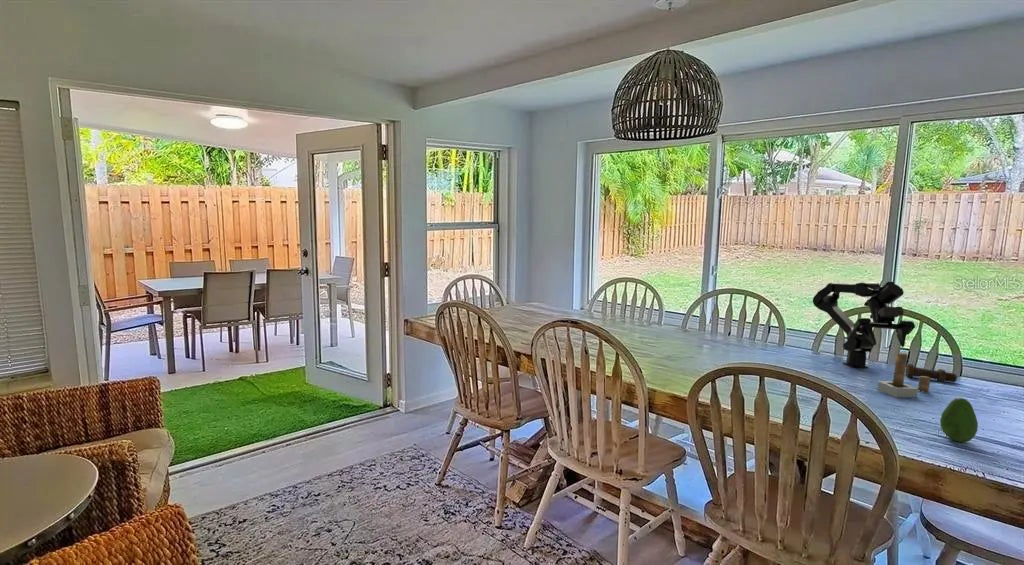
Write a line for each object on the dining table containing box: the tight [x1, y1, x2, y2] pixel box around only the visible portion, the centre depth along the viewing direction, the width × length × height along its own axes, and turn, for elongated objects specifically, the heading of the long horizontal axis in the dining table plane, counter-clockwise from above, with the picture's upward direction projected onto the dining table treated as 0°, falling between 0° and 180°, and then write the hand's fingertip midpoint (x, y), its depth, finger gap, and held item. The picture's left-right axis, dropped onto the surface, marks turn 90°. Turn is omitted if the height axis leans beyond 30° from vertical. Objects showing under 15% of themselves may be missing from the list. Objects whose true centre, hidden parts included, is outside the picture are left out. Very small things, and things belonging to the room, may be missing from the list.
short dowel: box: [917, 376, 931, 393], centre depth 192 cm, size 3×3×5 cm
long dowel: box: [892, 352, 908, 387], centre depth 188 cm, size 3×3×14 cm
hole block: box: [876, 380, 919, 399], centre depth 189 cm, size 8×8×3 cm
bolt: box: [905, 363, 958, 383], centre depth 205 cm, size 6×5×15 cm
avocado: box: [939, 397, 979, 443], centre depth 150 cm, size 8×8×12 cm
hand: (889, 345), depth 200 cm, fingers open, 9 cm apart
